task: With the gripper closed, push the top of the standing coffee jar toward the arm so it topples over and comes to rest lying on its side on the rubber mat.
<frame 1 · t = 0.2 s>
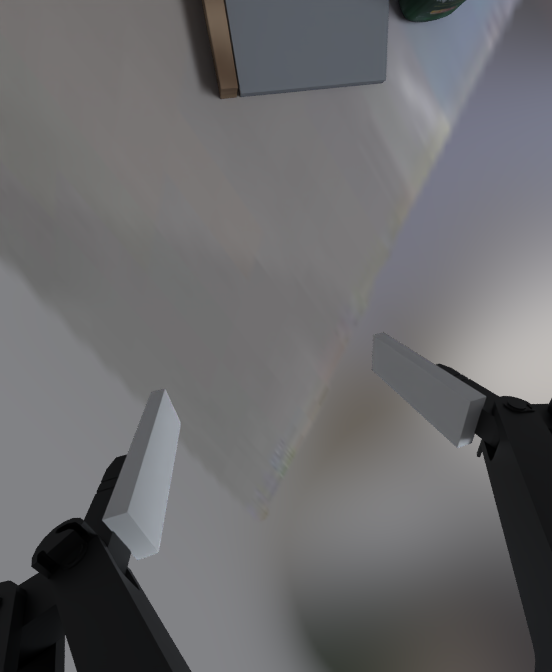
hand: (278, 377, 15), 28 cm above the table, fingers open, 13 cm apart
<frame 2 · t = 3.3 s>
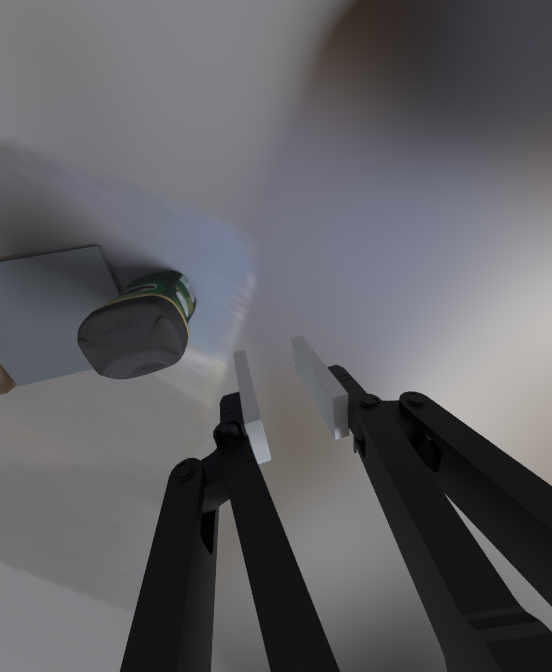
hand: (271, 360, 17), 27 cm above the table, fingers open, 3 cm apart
coffee jar: (165, 296, 39), on the table
rubber mat: (57, 319, 36), on the table
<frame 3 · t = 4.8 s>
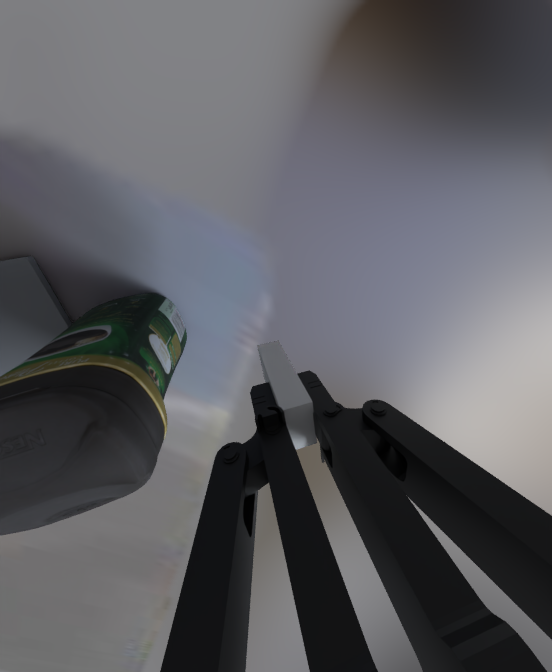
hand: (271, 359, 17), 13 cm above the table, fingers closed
coffee jar: (142, 328, 27), on the table
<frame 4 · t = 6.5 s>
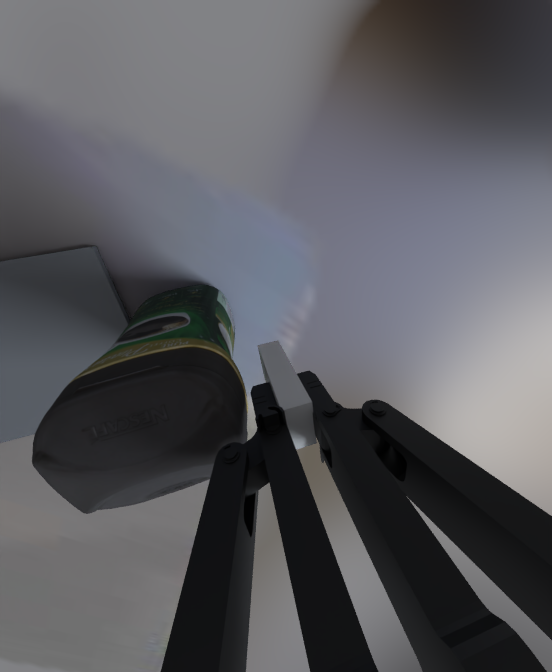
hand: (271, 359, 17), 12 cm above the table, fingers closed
coffee jar: (191, 320, 27), on the table, touching gripper
rubber mat: (33, 354, 25), on the table
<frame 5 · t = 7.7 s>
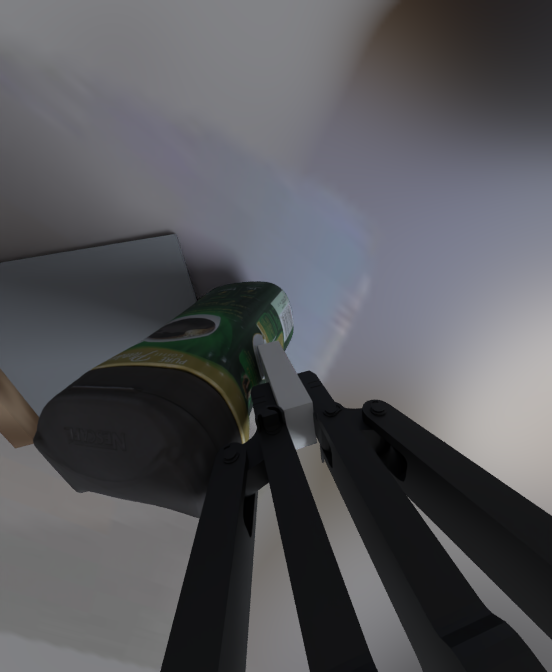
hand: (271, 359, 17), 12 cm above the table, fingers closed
coffee jar: (252, 315, 26), point 2 cm above the table, touching gripper
rubber mat: (109, 339, 26), on the table
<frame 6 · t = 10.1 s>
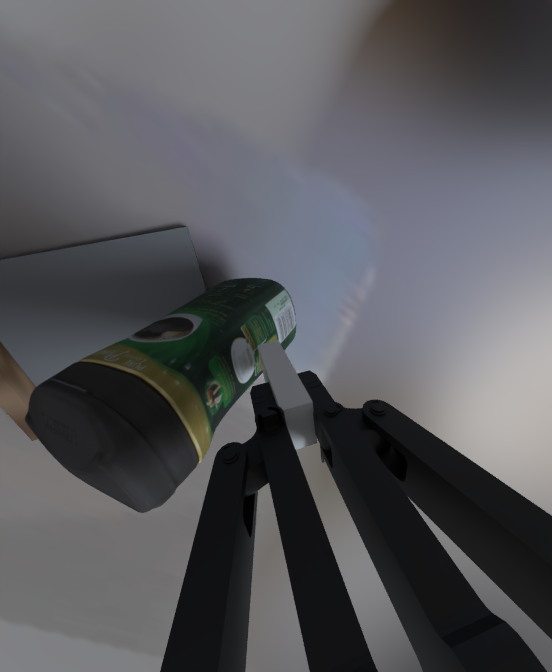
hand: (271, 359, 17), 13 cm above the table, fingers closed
walnut stop strip: (4, 359, 24), on the table
coffee jar: (259, 311, 26), point 3 cm above the table
rubber mat: (121, 332, 26), on the table
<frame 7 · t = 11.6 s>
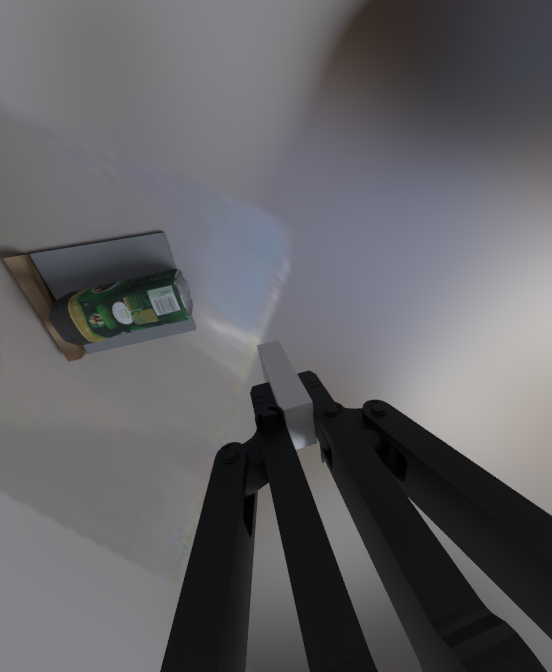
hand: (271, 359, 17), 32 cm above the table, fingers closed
walnut stop strip: (54, 309, 41), on the table
coffee jar: (188, 293, 39), point 6 cm above the table, touching rubber mat
rubber mat: (124, 295, 43), on the table
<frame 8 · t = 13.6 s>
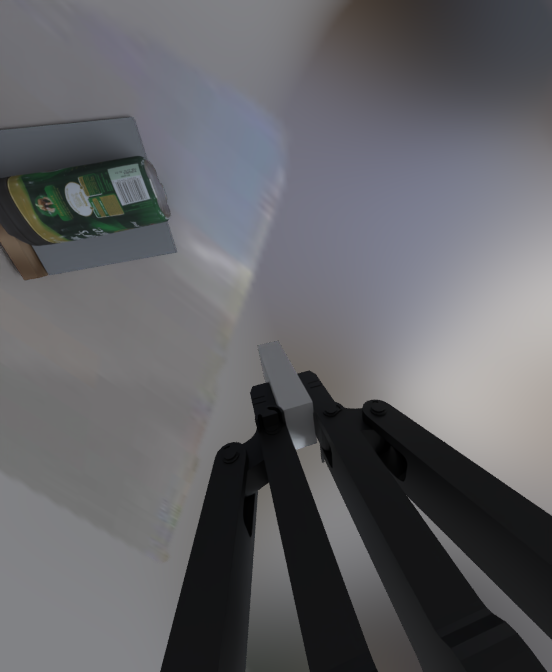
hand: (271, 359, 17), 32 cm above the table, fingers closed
walnut stop strip: (5, 214, 35), on the table
coffee jar: (162, 190, 33), point 6 cm above the table, touching rubber mat
rubber mat: (90, 202, 36), on the table
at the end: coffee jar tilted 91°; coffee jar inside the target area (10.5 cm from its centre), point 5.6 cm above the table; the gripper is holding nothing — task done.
